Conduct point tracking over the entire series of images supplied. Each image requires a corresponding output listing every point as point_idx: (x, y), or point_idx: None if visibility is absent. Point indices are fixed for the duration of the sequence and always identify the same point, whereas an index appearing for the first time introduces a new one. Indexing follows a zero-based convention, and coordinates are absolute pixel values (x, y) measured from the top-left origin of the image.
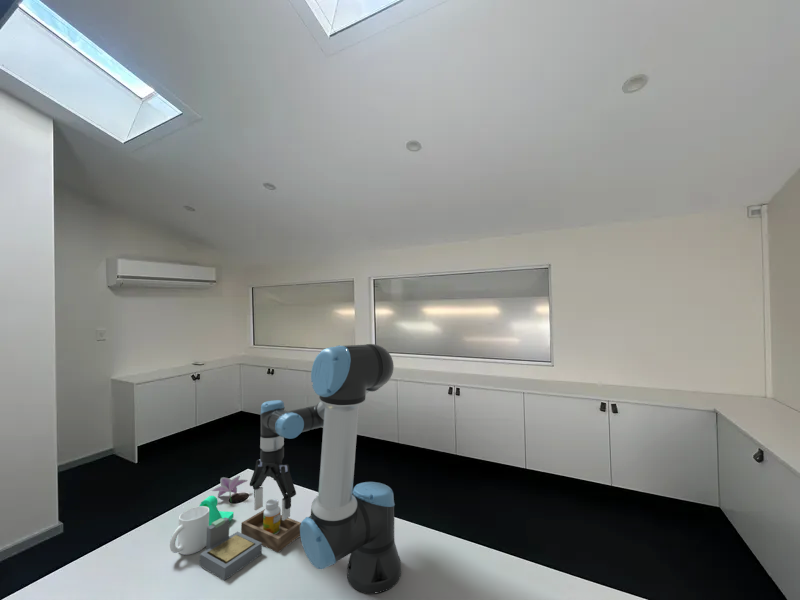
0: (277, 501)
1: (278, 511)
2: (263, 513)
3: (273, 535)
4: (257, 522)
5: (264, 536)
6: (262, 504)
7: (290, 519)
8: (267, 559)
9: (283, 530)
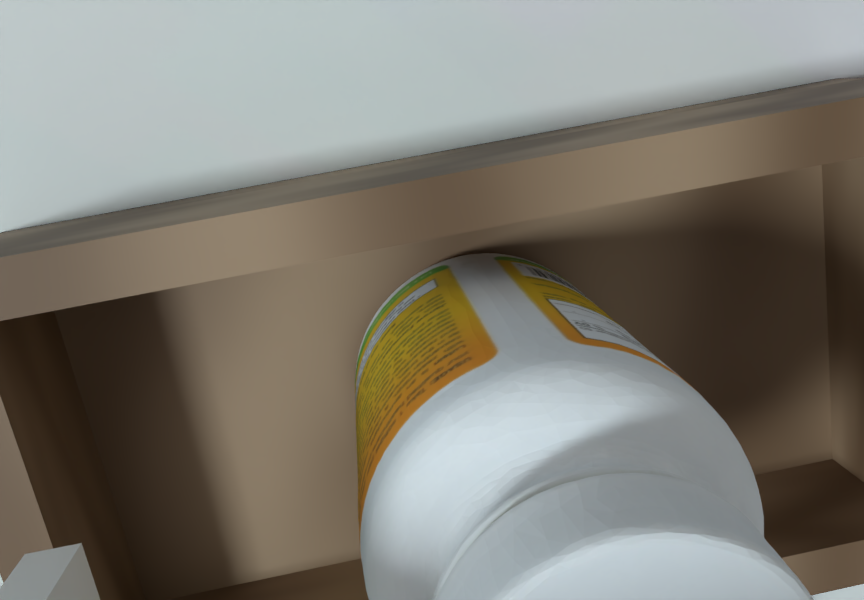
0: (767, 591)
1: (754, 483)
2: (4, 348)
3: (841, 568)
4: (78, 430)
5: None
6: (61, 581)
7: (711, 147)
8: (836, 590)
9: (590, 233)
